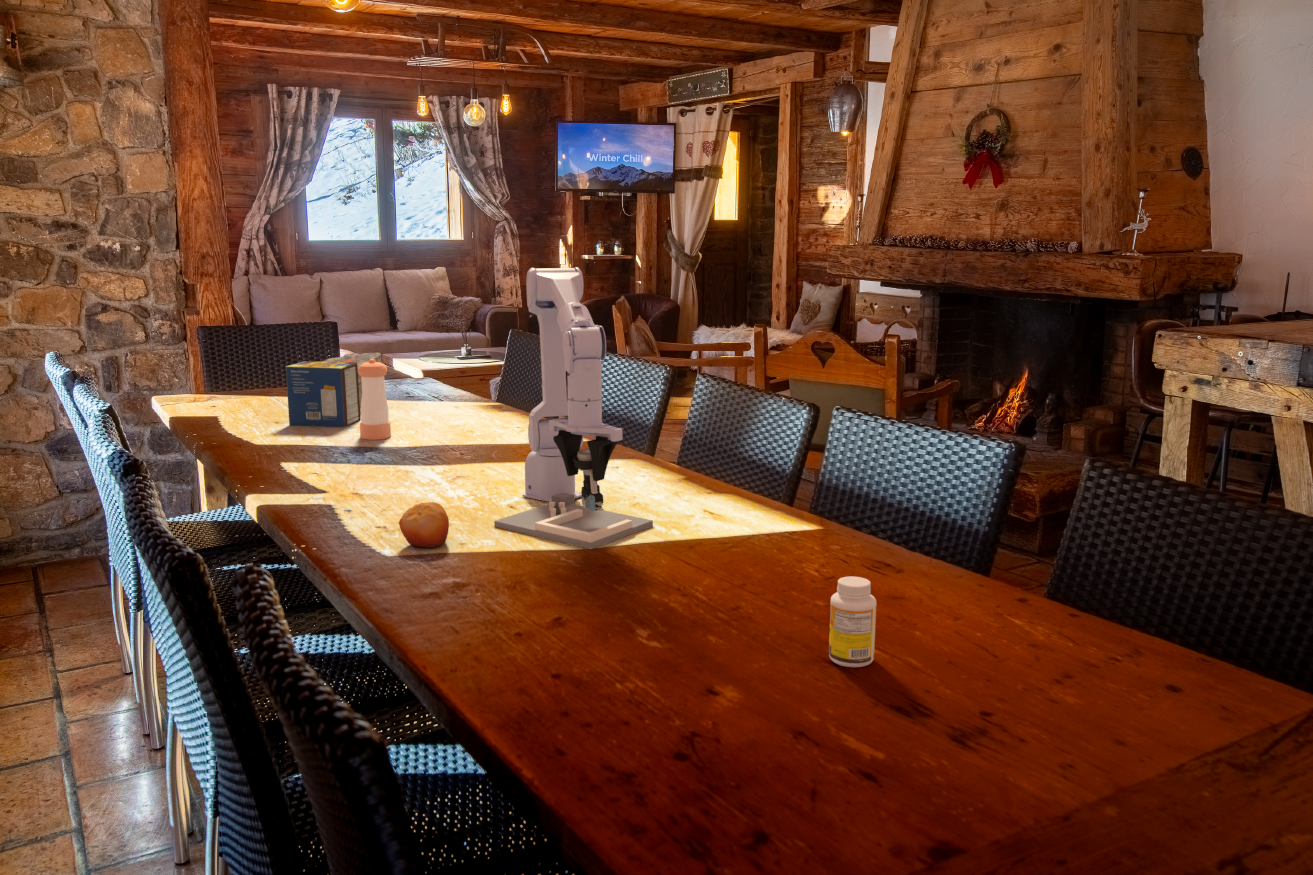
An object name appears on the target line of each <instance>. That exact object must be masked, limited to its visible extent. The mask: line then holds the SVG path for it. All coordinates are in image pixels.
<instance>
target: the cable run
mask: <svg viewBox="0 0 1313 875" xmlns="http://www.w3.org/2000/svg"><path fill="white" fill-rule="evenodd" d="M575 500H576V499H574V495H572V494H567V493H559V494H556V495H553V496H552V502H548V504H549V510H551V517H554V516H557V515H560V514H563V513H566V508H565V506H568V505H571V504H575V503H576V502H575ZM560 511H561V512H560Z"/></svg>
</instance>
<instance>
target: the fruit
mask: <svg viewBox="0 0 1313 875" xmlns="http://www.w3.org/2000/svg"><path fill="white" fill-rule="evenodd" d="M449 519H450V518H449V516H448V513H447V512H446V510H445V508H444V507H443V506H442V505H441V504H440V503H438V502H433V501H432V502H420V503H416V504H414V505H413V506H411V507H409V508H408V509H407V510H406V511H405V512H404V513H403V514H402V516H401V518H400V519H399V521H398V524H399V525H398V526H399V529H400V532H401V533H402V535H403V537H404V538H405V540H406V542H407V543H408V544H409V545H410V546H412V547H416V548H433V549H434V548H438V547H440V546H442V545H443V544H445V543H446V541H447V539H448V535H449V530H450V529H449V527H450V521H449Z"/></svg>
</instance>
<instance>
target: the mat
mask: <svg viewBox="0 0 1313 875" xmlns="http://www.w3.org/2000/svg"><path fill="white" fill-rule="evenodd" d="M565 508H566V512H569V511H573V510H576V509H580V510H582V511H583V517H580V518H577V519H574V520H571V521H568V522H565V523H562V524H559V525H558V526H563V527H567V528H571V529H576V530H580V531H585V532H589V533H590V532H593V531H596V530H599V529H601V528H604V527H607V526H610V525H613V524H615V523H618V522H621V521H624V520H626V519H628V520H632V528H629V529H626V530H624V531H621V532H618V533H615V534H613V535H610V536H607V537H605V538H602V539H599V540H597V541H594V542H591V543H590V542H586V541H582V540H577V539H573V538H569V537H564V536H560V535H556V534H552V533H547V532H543V531H539V530H535V523H536V522H539V521H542V520H545V519H548V518H551V510H549V503H547V504H544V505H542V506H537V507H534V508H532V509H528V510H525V511H523V512H522V511H521V512H519V513H515V514H513V515H509V516H506V517H503V518H499V519H496V520H494V521H493V522H494V528H495V527H496V528H499V529H505V530H508V531H512V532H517V533H520V534H524V535H529V536H534V537H537V538H540V539H541V538H542V539H547V540H551V541H554V542H555V541H556V542H559V543H564V544H568V545H571V546H576V547H580V548H585V549H589V550H593V549H595V548H598V547H601V546H603V545H607V544H608V543H611V542H614V541H617V540H619V539H622V538H624V537H627V536H630V535H632V534H636V533H637V532H640V531H644V530H646V529H648V528H652V527H653V526H654V520H652V519H648V518H647V519H646V518H642V517H638V516H633V515H628V514H623V513H619V512H614V511H609V510H605V509H604V510H602V509H601V510H602V511H599V510H596V511H591V510H590V509H589V508H587V507H586V508H584V507H583V505H580V504H577V503H576V504H575V503H574V504H571V505H568V506H565ZM560 512H561V511H560Z"/></svg>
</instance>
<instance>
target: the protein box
mask: <svg viewBox="0 0 1313 875" xmlns="http://www.w3.org/2000/svg"><path fill="white" fill-rule="evenodd" d="M285 376H286V390H287V407H288V408H287V409H288V423H289V424H288V425H289V426H296V427H298V426H299V427H320V428H321V427H326V428H346V427H348V426H350V425H352V424H354V423H356V422H359V421H361V411H360V409H361V408H360V400H359V385H358V366H357V362H322V361H310V360H309V361H306V360H305V361H304V360H303V361H300V362H297V363H293V364H290V365H286V366H285Z"/></svg>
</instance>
